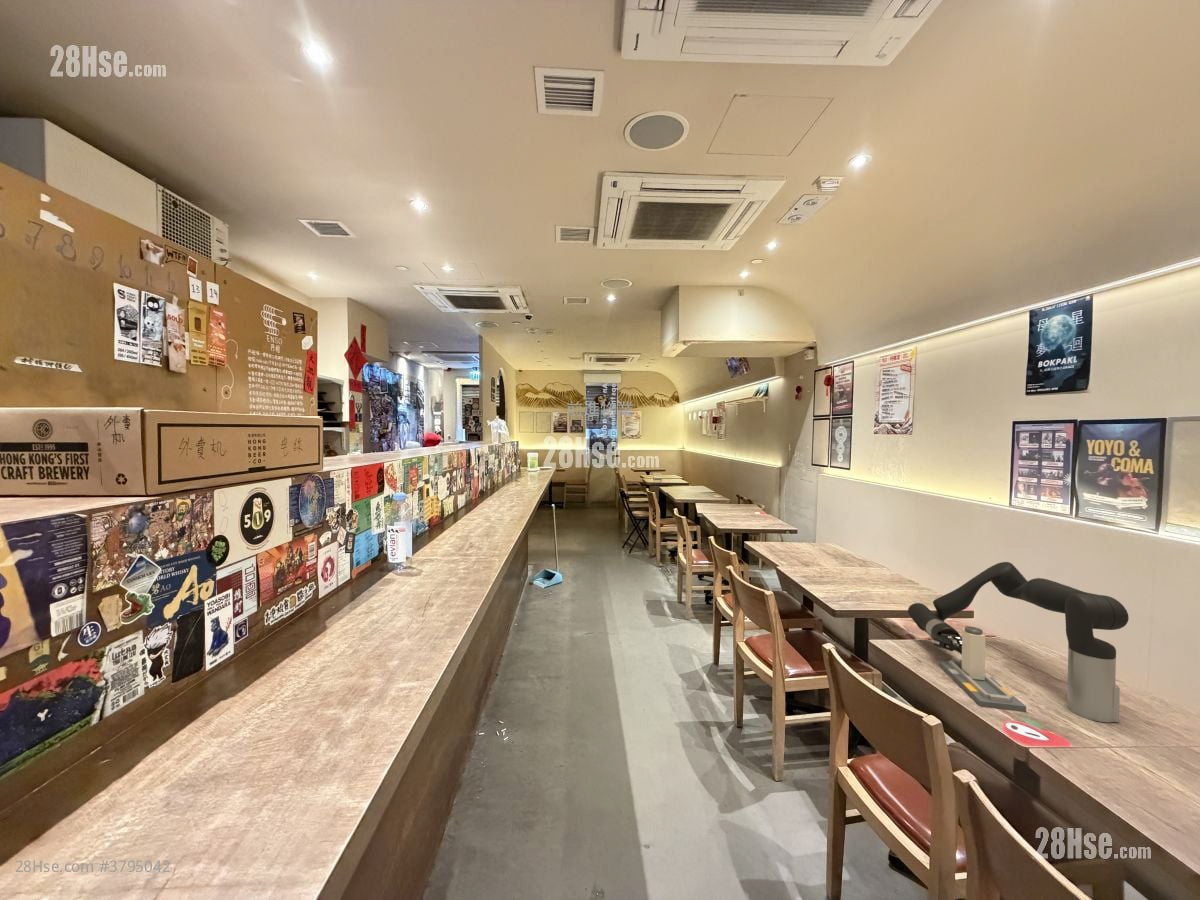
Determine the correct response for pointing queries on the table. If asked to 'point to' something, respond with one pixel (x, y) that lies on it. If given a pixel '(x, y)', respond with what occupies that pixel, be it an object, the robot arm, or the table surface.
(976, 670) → the slider knob
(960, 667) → the switch panel
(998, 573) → the robot arm
